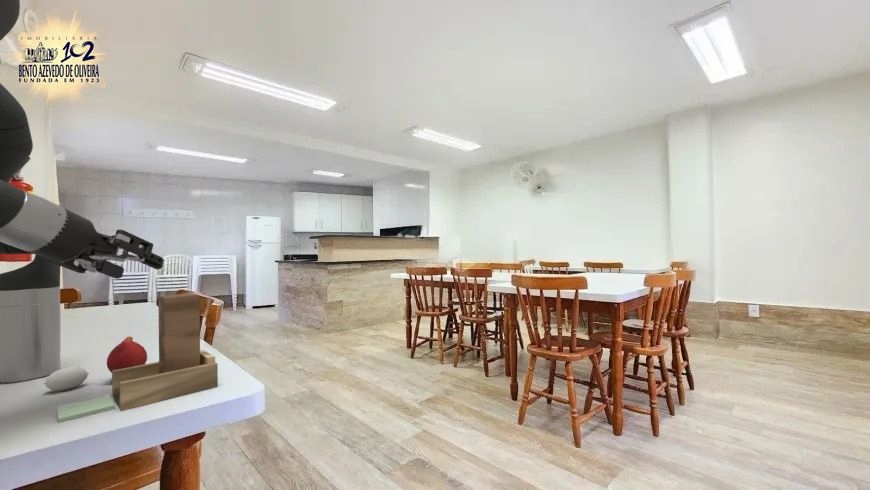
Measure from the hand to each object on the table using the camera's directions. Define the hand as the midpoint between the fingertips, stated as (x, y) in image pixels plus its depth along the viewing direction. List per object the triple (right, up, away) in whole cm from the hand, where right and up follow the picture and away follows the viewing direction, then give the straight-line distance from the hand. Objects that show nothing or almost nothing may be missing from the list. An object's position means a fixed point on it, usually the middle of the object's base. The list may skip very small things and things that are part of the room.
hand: (141, 269), depth 68 cm
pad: (+1, -20, -12) cm, 24 cm away
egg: (-11, -21, -3) cm, 24 cm away
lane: (+8, -20, -5) cm, 22 cm away
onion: (-4, -21, +2) cm, 21 cm away
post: (+9, -18, -3) cm, 21 cm away
